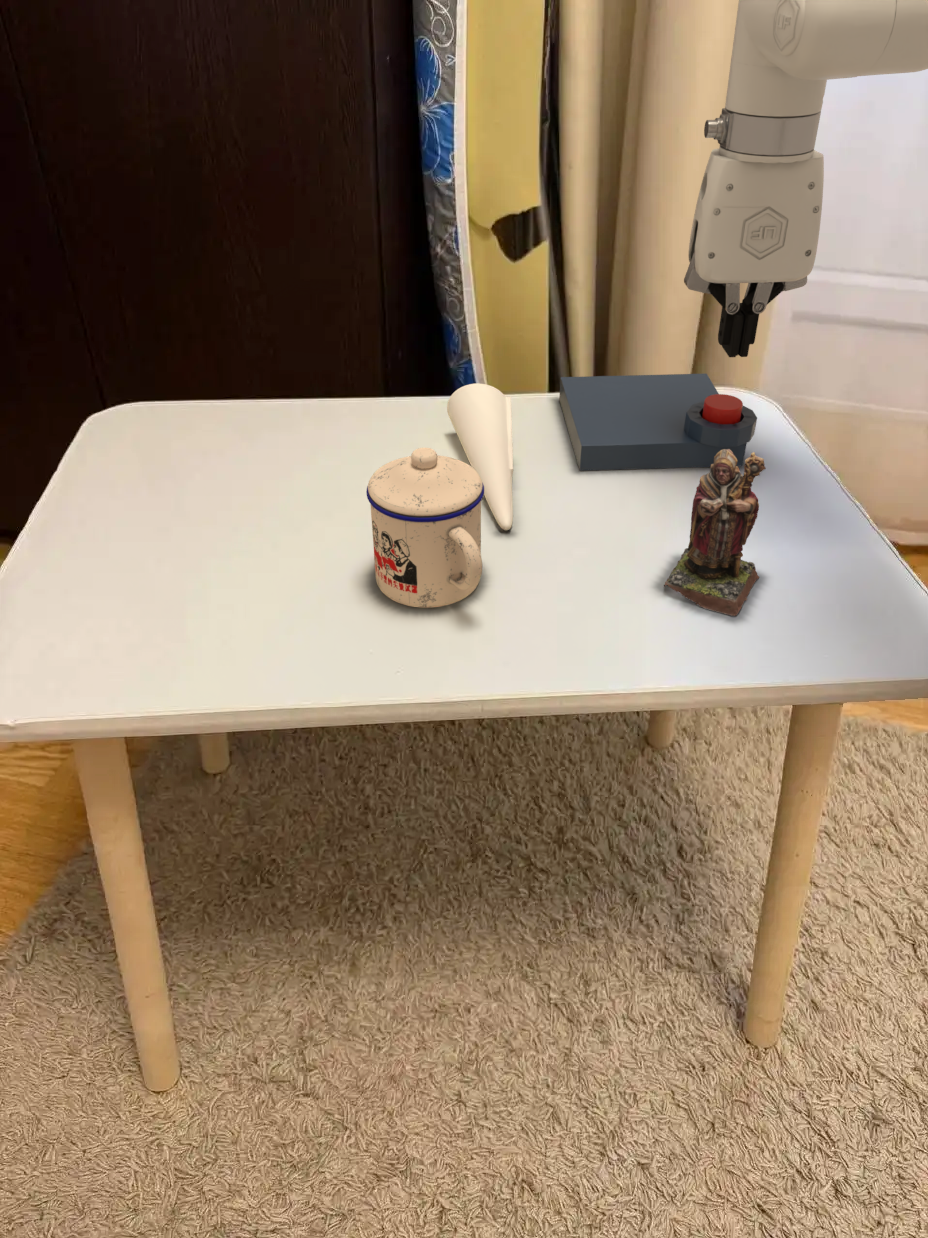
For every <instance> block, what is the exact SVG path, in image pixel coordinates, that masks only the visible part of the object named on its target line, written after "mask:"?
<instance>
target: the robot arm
mask: <svg viewBox="0 0 928 1238" xmlns="http://www.w3.org/2000/svg"><path fill="white" fill-rule="evenodd" d="M732 42H733V43H732V50H731V58H730V63H729V64H730V66H729V72H728V73H729V74H728V80H727V88H726V89H727V90H726V96H725V102H724V103H725V105H724V107H723V108H722V109H721V113H720V114H719V117H715V119H706V121H705V122H704V128H703V129H704V130H703V135H704V138H705V139H713V140H715V141H717V143H718V144H719V146H718V147H719V148H713V149H712V150H711V152H710V155H709V158H708V160H707V163H706V167H705V170H704V174H703V177H702V180H701V185H700V188H699V193H698V197H697V201H696V205H695V209H694V215H693V220H692V224H691V225H692V226H691V231H690V236H689V243H688V262H689V265H688V267H687V270H686V273H685V275H684V278H683V283H684V285H685V286H686V288H687V289H688V290H690V291H694V292H699V293H702V294H708V295H711V296H712V297H713V299H715V300H716V302H718V304H719V305H720V306H721V312H720V319H719V324H718V325H719V326H718V333H717V342H718V345H720V346H721V348H722V349H723V350H724V352H725V353H726V355H727V356H728V358H736V357H737V356H739V357H740V358H747V357H748V356H749V350H750V345H754V344H755V342H756V337H757V330H758V323H759V318H760V314H762V313H764V312H765V310H766V308H767V305H769V304H770V303H771V302H772V301H773V300H774V299H775V298H776V297H778V296H779V295H780V294H781V293H783V292H789V291H791V290H796V289H799V288H802V287H805V286H806V285H807V283H808V276H809V275H810V274H811V273H812V271H813V269H814V265H815V261H816V256H817V252H818V251H817V250H818V244H819V238H820V230H821V220H822V210H823V197H824V182H825V179H824V178H825V162H824V161H825V160H824V153H821V152H820V151H817V150H816V149H815V146H816V141H817V135H818V131H819V125H820V120H821V114H822V110H823V109H822V108H823V104H824V96H825V93H826V88H827V82H828V80H829V81H830V80H840V79H850V78H857V77H866V76H867V77H868V76H869V77H870V76H881V75H895V74H909V73H917V72H922V71H925V70H928V0H738V4H737V12H736V19H735V25H734V33H733V41H732ZM741 284H747V286H746V289H745V293H744V297H743V299H742V301H740V299H741V296H740V295H741Z"/></svg>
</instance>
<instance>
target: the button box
mask: <svg viewBox="0 0 928 1238" xmlns="http://www.w3.org/2000/svg"><path fill="white" fill-rule="evenodd" d="M559 381H560V382H559V397H558V399H559V401H558V402H559V404H560V407H561V411H562V415H563V417H564V422H565V424H566V428H567V432H568V435H569V439H570V442H571V445H572V449H573V452H574V455H575V459H576V463H577V466H578V469H579V471H580V472H581V471H583V472H584V471H614V470H615V471H616V470H617V471H618V470H649V469H652V470H653V469H655V470H656V469H685V468H686V469H688V468H710V466H711V464H714V456H716V454H717V453H718V452H719V451H721V450H723V449H726V450H728V449H730V450H731V451H732V452H733V454H734V455H735V457H736V458H737V465H736V466H738V467H744V462H745V455H746V449H747V444H748V443H750V442H751V440H752V439H753V437H754V436H755V433H756V427H757V422H758V417H757V415H756V413H755V412H754V410H753V409H751V408H749V407H747V406H745V405H743V407H742V412H741V418H740V422H738V423H735V424H717V423H712V422H709V421H707V420H705V419H703V418H702V414H703V407H704V401H705V399H706V398H707V397H708V396H711V395H716V394H720V393H719V391H718V390H717V388H716V386H715V384H714V383H713V381H712V379H711V378H710V377H709V374H708V373H674V374H671V373H670V374H636V375H635V374H634V375H597V376H596V375H594V376H593V375H592V376H591V375H590V376H589V375H588V376H560V379H559Z"/></svg>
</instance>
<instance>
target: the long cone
mask: <svg viewBox="0 0 928 1238" xmlns="http://www.w3.org/2000/svg"><path fill="white" fill-rule="evenodd" d="M446 412H447V415H448V417H449V421H450V422H451V424H452V427H453V429H454V431H455V433H456V435H457V437H458V439H459V442H460V444H461V446H462V449H463V450H464V453H465V455H466V457H467V459H468V462H469V463H470V464H469V465H470V466H471V467H472V468H473V469H475V470H476V472H477V473H478V474H479V476H480V477H481V480H482V482H483V485H484V495H483V497H485V500H486V502H487V505H488V507H489V509H490V511H491V513H492V515H493V518H494V519H495V521H496V523H497V524H498V526H499V528H500V529H502V530H504V531H508V530H510V529H511V528H512V525H513V520H514V505H513V504H514V503H513V502H514V501H513V500H514V499H513V475H514V449H513V415H512V414H513V413H512V396H507V395H505V394H504V393H503V392H502V391H501V390H500V389H498V388H496V387H495V386H493V385H489V384H486V383H478V382H477V383H469V384H466V385H463V386H461V387H459V388H457V389H456V390H455V391H454V392H453V393H452V394H451V395H450V397H449V398H448V401H447V404H446Z"/></svg>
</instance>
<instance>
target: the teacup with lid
mask: <svg viewBox="0 0 928 1238" xmlns="http://www.w3.org/2000/svg"><path fill="white" fill-rule="evenodd" d="M366 498H367V501H368V502H369V504H370V516H371V530H372V531H371V532H372V543H373V544H372V545H373V557H374V559H373V560H374V571H375V572H374V573H375V581H376V584H377V586H378V588H379V590H380V591H381V592H382V594H384V595H385V596H386V597H387V598H389V599H390V600H392V601H394V602H396V603H398V604H401V605H404V606H408V607H413V608H423V609H424V608H425V609H426V608H429V609H430V608H431V609H432V608H441V607H446V606H448V605H449V606H450V605H452V604H456V603H457V602H460V601H462V600H463V599H465V598H467V597H468V596H469V595H471V594H472V593H473V592H474V591H475V590H476V589H477V587H478V586H479V583H480V580H481V577H482V573H483V559H482V500H483V498H484V485H483V482H482V480H481V477H480V476H479V474H478V473H477V472H476V470H475V469H473V468H472V466H471V464H468V463H466V462H464V461H462V460H459V459H457V458H454V457H451V456H445V455H438V453H437V451H435V449H433V448H430V447H418V448H416V449H414V450H413V451H412V453H411V455H409V456H404V457H400V458H396V459H394V460H391V461H389V462H386V463H385V464H383V465H382V466H380V467H378V469H377V470H375V472H374V473H373V474H372V475H371V477H370V478H369V480H368V484H367V486H366Z"/></svg>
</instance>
